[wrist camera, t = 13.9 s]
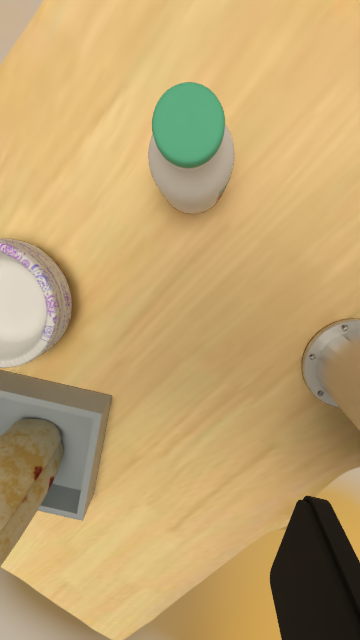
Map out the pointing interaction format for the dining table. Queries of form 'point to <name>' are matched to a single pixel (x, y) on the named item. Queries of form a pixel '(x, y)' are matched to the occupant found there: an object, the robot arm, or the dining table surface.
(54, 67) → the dining table surface
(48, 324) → the paper bowls
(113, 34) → the dining table surface
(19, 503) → the food model
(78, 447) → the bin
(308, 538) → the robot arm
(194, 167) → the milk bottle
